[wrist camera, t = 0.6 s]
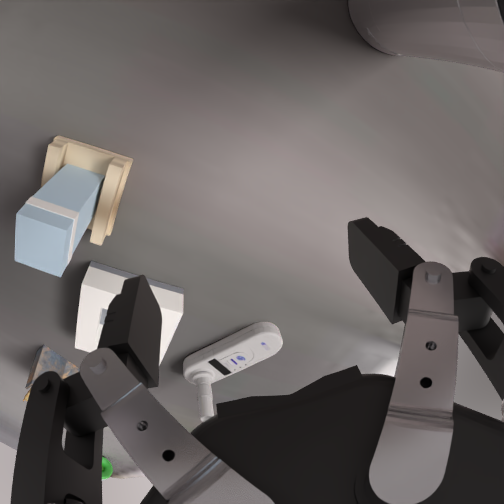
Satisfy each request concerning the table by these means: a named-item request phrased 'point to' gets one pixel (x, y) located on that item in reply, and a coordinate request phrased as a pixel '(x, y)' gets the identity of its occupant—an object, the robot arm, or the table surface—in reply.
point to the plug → (56, 219)
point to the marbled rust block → (49, 366)
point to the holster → (98, 162)
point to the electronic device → (229, 359)
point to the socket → (102, 293)
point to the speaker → (106, 469)
